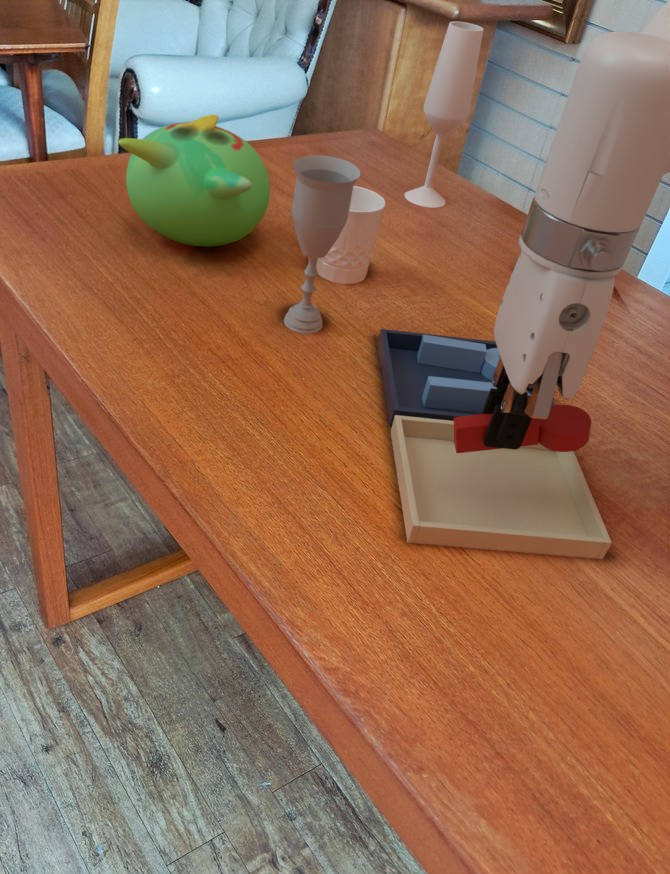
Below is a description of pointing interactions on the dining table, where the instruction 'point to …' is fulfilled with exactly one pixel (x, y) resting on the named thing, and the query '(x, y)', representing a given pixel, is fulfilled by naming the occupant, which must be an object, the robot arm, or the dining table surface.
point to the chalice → (318, 223)
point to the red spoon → (529, 430)
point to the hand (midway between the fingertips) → (498, 436)
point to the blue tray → (416, 375)
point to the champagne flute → (449, 98)
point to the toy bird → (197, 183)
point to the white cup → (354, 240)
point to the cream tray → (493, 495)
